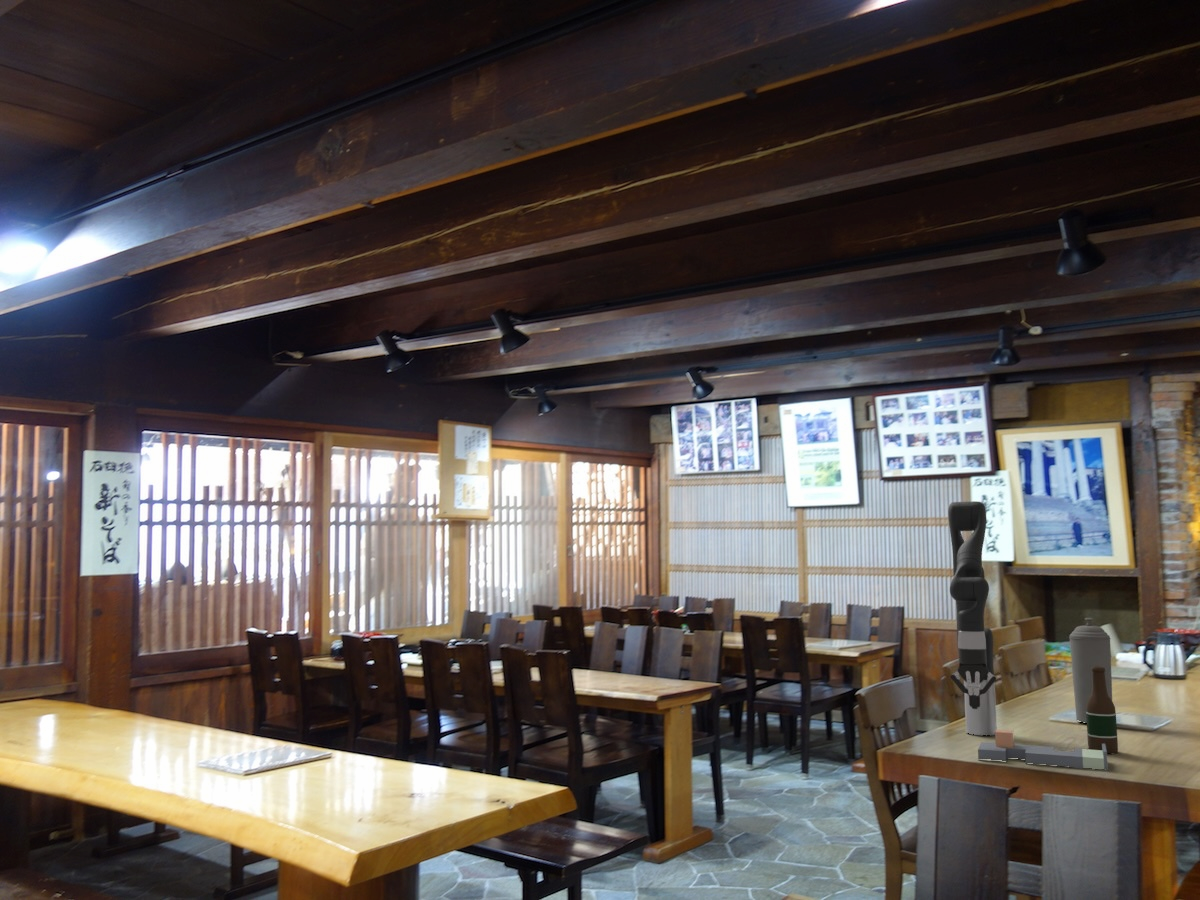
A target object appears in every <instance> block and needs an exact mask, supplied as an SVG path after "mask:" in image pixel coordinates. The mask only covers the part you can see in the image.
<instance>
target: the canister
mask: <svg viewBox="0 0 1200 900" xmlns="http://www.w3.org/2000/svg"><path fill="white" fill-rule="evenodd" d="M1084 620H1085V621H1086V624H1085V625H1079V626H1076V627H1075V628H1074V630H1073V631H1072V632H1071V634H1069V636H1068V638H1069V645H1070V646H1069V647H1070V648H1069V649H1070V658H1071V671H1072V681H1073V683H1072V684H1073V692H1074V693H1073V694H1074V706H1075V715H1076V721H1077V720H1079V721H1081V722H1085V723H1087V719H1086V704H1087V701H1088V699H1089V698H1090V696H1091V695H1092V670H1091V668H1092V667H1093V666H1100V667H1104V668H1105V670H1106V671H1105V680H1106V688H1107V693H1108V696H1109V698H1110V699H1111V700H1112V701H1113V686H1112V685H1113V683H1112V682H1113V681H1112V679H1113V678H1112V658H1111V657H1112V656H1111V655H1112V654H1111V653H1112V652H1111V636H1110V635H1109V634H1108V633H1107V632H1106V631H1105V630H1104V629H1103V628H1102V627H1101V626H1098V625H1092V623H1091V622H1092V621H1093V618H1092V617H1085V618H1084Z"/></svg>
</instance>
